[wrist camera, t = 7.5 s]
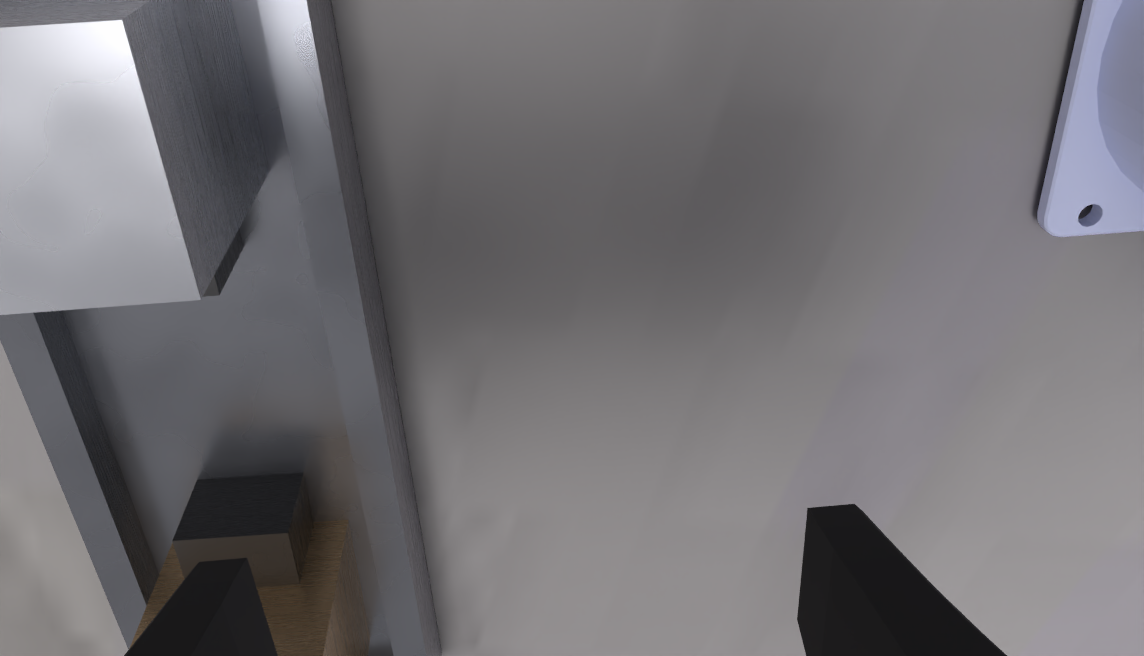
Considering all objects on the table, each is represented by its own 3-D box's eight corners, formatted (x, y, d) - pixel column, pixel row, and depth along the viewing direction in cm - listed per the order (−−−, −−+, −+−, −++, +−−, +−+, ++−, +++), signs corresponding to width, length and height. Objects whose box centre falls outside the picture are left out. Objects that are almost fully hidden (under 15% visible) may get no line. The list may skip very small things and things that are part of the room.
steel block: (218, -49, 16) (122, 19, 12) (284, 244, 19) (224, 384, 15) (-22, -34, 16) (-208, 41, 12) (80, 259, 19) (-41, 406, 15)
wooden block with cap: (339, 470, 22) (302, 642, 18) (370, 636, 25) (345, 819, 21) (161, 481, 22) (80, 658, 18) (213, 648, 25) (155, 835, 20)
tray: (309, -127, 17) (286, -112, 15) (441, 653, 27) (438, 720, 25) (-100, -103, 17) (-175, -85, 15) (191, 675, 27) (168, 745, 25)
